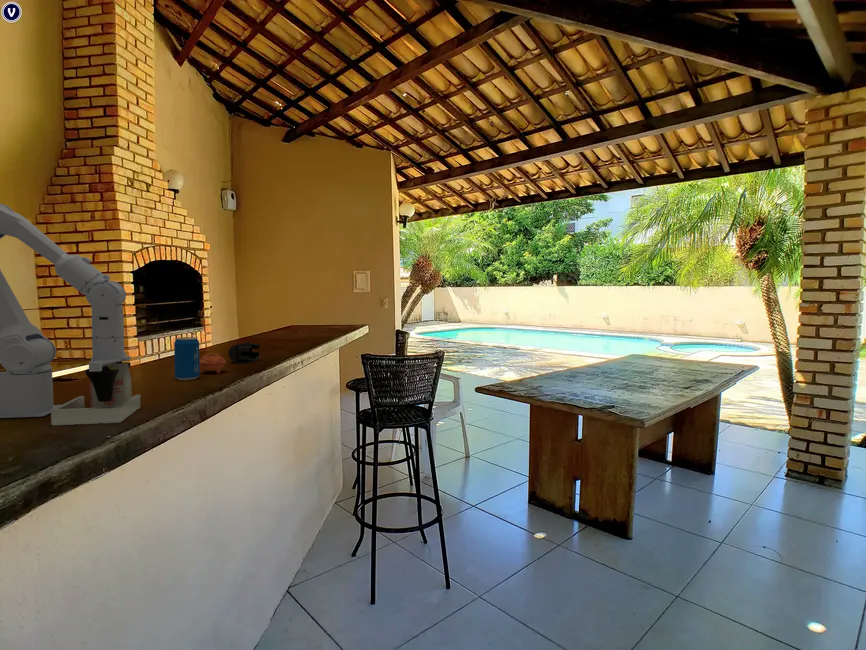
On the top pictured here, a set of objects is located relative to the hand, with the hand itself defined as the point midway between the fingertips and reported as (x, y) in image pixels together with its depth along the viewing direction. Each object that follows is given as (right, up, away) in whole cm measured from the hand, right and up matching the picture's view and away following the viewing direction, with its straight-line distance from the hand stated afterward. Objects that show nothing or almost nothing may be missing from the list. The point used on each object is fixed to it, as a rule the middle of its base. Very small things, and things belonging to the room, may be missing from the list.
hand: (109, 398), depth 102 cm
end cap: (+3, +2, +66) cm, 66 cm away
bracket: (+1, -3, -5) cm, 6 cm away
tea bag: (0, -3, +1) cm, 3 cm away
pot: (+2, +1, +44) cm, 44 cm away
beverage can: (-1, 0, +34) cm, 34 cm away
